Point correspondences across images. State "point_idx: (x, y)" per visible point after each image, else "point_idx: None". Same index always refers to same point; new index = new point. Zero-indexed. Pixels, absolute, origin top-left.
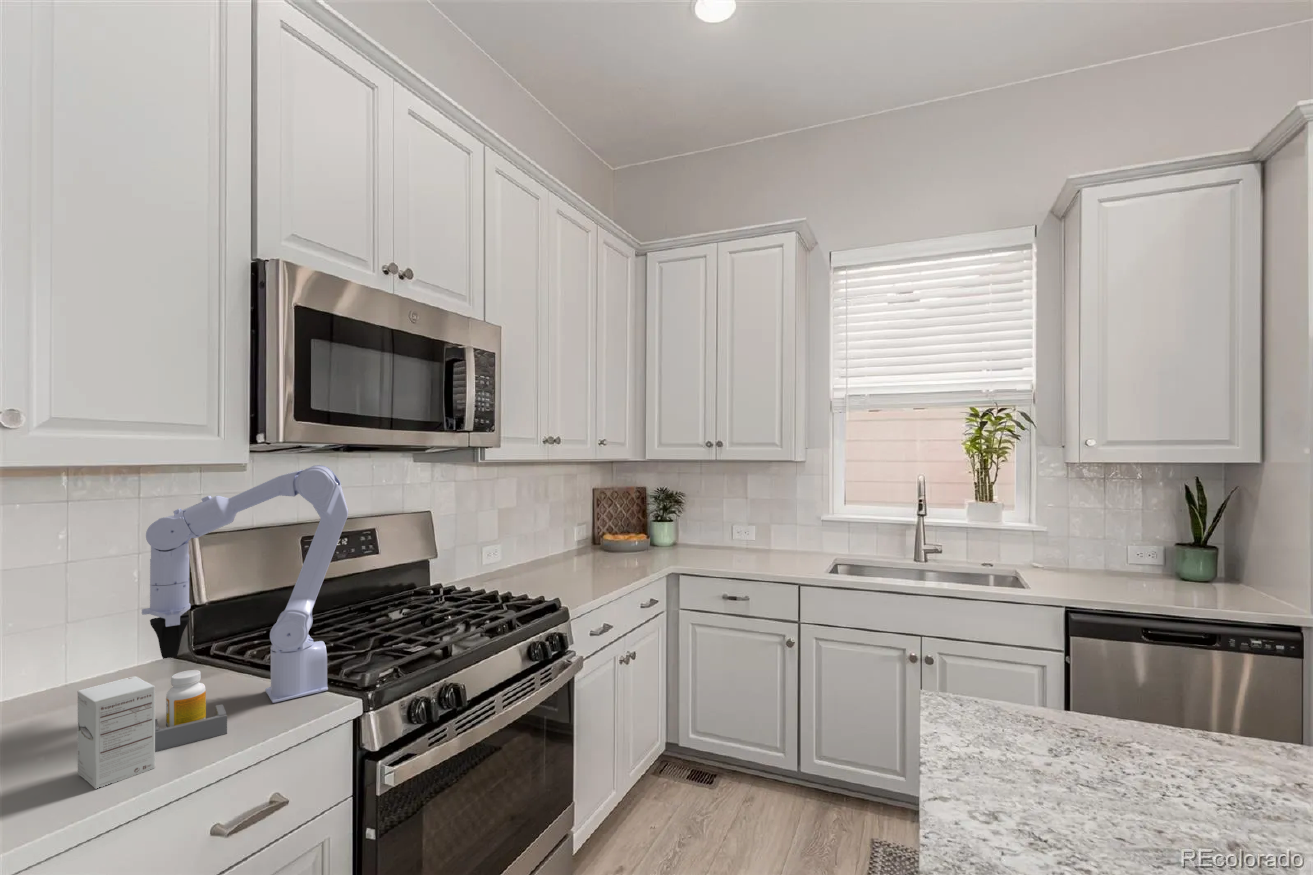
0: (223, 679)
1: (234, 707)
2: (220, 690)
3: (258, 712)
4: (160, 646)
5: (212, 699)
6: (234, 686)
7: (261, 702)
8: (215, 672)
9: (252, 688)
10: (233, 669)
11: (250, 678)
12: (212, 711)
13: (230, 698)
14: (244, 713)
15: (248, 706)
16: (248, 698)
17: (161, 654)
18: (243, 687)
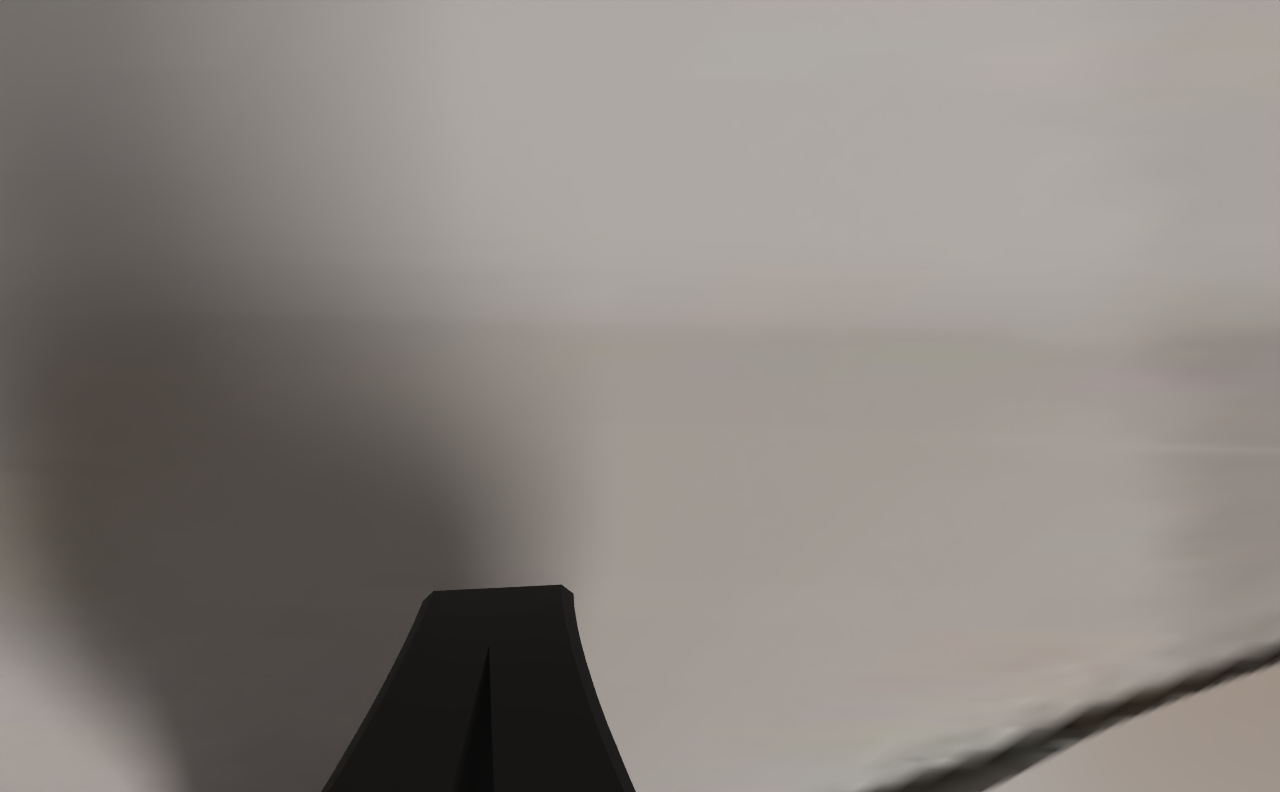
0: (1011, 625)
1: (247, 657)
2: (744, 600)
3: (40, 762)
4: (328, 788)
5: (555, 550)
6: (763, 675)
7: (254, 783)
8: (1255, 588)
9: None
10: (1200, 684)
11: (866, 756)
12: (243, 541)
13: None
14: (66, 699)
15: (214, 723)
16: None
17: (414, 639)
18: (688, 716)
